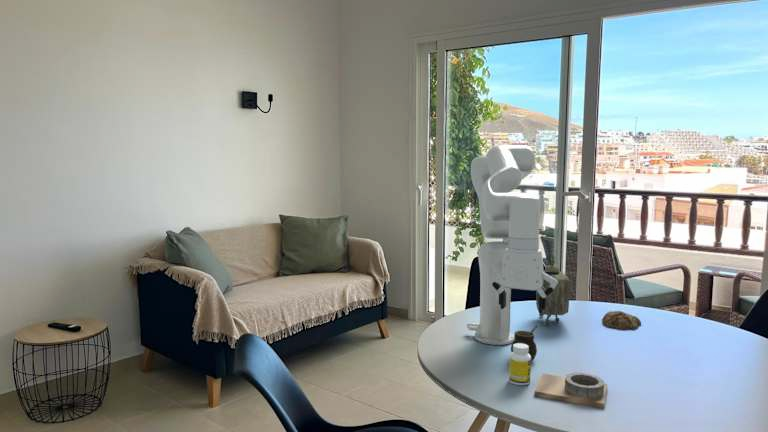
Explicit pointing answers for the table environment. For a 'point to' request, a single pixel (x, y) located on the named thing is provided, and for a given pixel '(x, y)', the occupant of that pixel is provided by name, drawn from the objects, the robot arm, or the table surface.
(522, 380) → the supplement bottle
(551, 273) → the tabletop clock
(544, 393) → the collar board
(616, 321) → the bread roll
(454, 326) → the table surface
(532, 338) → the mate gourd
